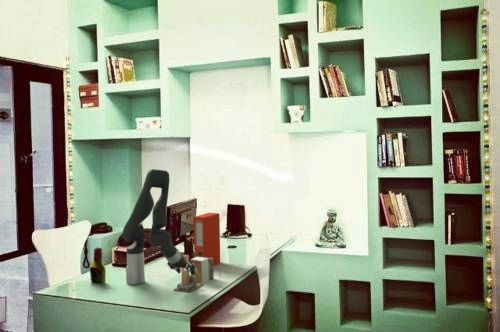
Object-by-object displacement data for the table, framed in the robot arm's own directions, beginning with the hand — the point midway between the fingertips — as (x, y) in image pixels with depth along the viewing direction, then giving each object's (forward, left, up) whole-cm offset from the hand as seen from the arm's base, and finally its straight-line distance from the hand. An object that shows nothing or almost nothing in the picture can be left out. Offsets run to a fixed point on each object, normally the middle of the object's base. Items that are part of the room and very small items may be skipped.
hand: (186, 272), depth 255 cm
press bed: (0, +8, -9) cm, 12 cm away
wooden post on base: (0, 0, -7) cm, 7 cm away
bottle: (-54, -7, -9) cm, 55 cm away
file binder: (-12, +45, -9) cm, 47 cm away
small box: (0, +14, -9) cm, 16 cm away
